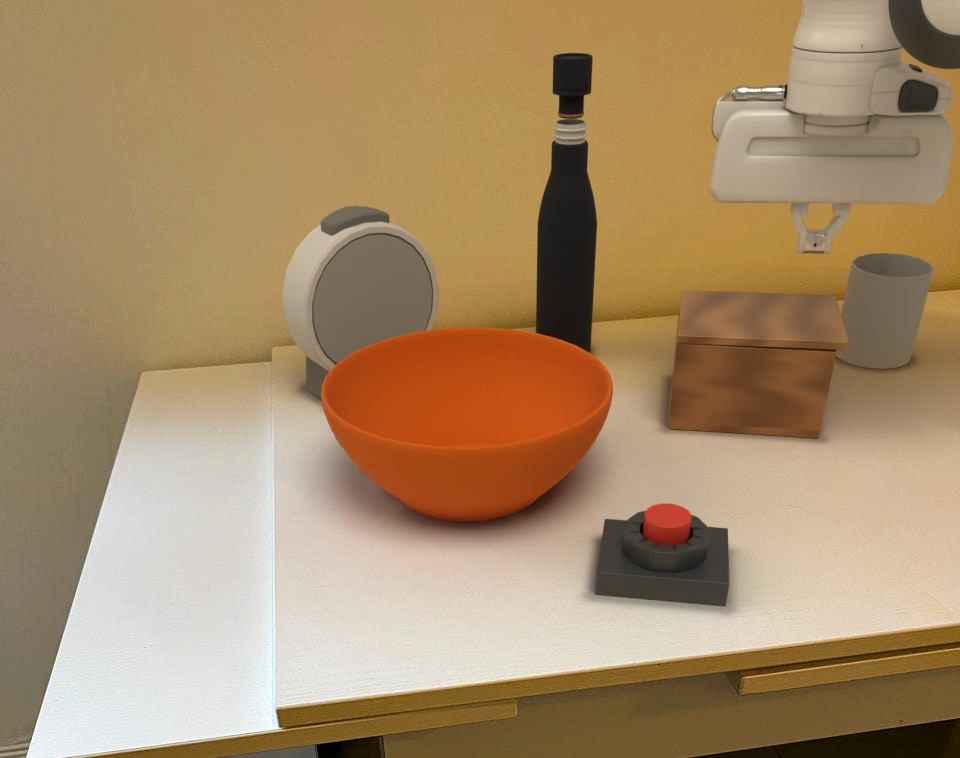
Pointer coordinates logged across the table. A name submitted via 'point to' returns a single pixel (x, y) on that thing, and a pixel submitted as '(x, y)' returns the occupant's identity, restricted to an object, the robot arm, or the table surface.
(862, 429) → the table surface
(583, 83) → the wine bottle
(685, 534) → the button
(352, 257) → the alarm clock
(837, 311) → the box lid
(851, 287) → the cup
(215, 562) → the table surface
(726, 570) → the button block
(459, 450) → the bowl
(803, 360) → the oak box
